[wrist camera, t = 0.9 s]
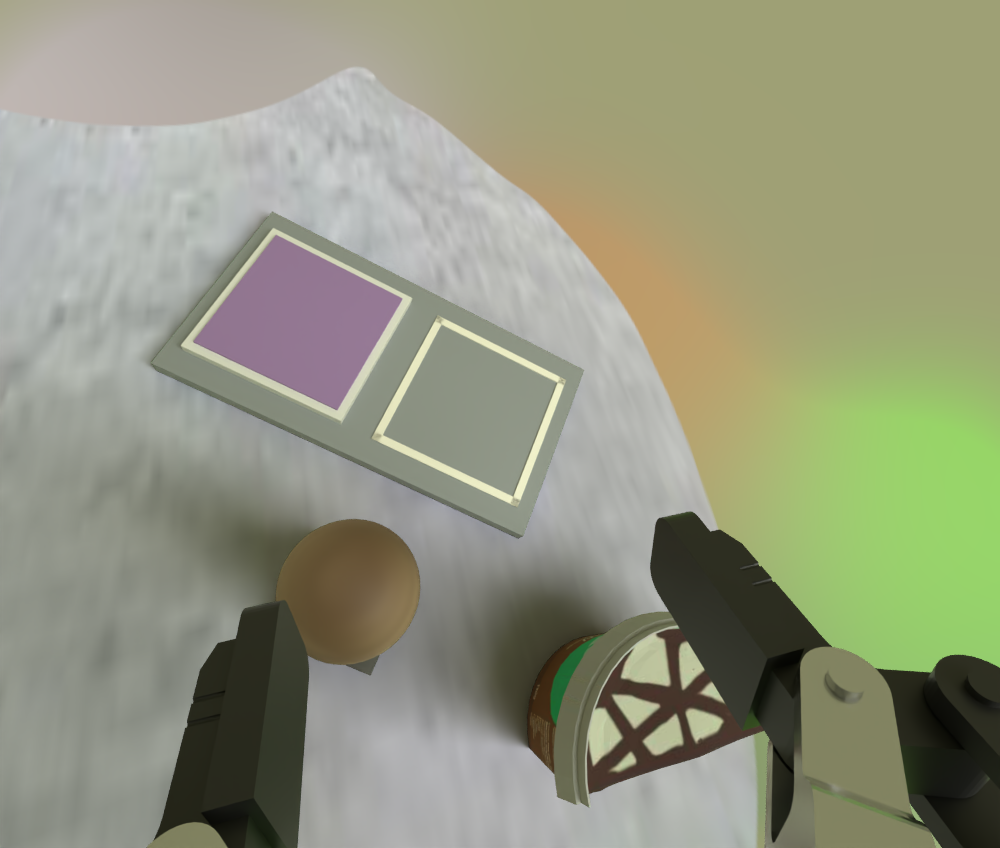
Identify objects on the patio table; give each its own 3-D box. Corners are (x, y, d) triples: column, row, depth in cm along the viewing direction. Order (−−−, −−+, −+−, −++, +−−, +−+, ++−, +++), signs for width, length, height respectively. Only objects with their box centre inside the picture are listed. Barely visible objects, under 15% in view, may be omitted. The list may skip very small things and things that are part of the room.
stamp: (272, 632, 29) (218, 637, 16) (324, 536, 31) (314, 470, 18) (368, 673, 29) (393, 709, 16) (412, 575, 32) (464, 539, 19)
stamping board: (156, 370, 32) (146, 356, 30) (273, 221, 37) (270, 203, 36) (518, 538, 34) (527, 534, 33) (578, 375, 40) (588, 365, 38)
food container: (661, 597, 36) (770, 586, 27) (689, 698, 34) (817, 723, 25) (483, 639, 32) (541, 644, 23) (504, 756, 30) (577, 812, 21)
